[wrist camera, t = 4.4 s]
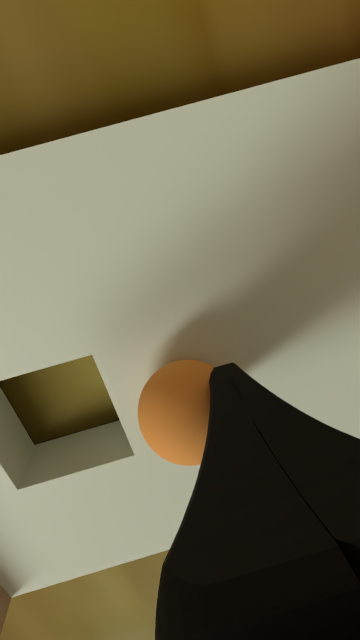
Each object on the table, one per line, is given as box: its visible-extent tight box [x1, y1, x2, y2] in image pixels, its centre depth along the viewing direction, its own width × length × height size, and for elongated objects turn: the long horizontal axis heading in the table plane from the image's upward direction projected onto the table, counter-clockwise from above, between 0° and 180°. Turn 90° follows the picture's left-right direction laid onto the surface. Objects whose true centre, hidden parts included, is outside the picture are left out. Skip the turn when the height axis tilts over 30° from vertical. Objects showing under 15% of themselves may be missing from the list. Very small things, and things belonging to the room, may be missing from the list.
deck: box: [0, 58, 360, 634], centre depth 13 cm, size 18×24×4 cm
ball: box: [138, 360, 214, 466], centre depth 11 cm, size 3×3×3 cm
